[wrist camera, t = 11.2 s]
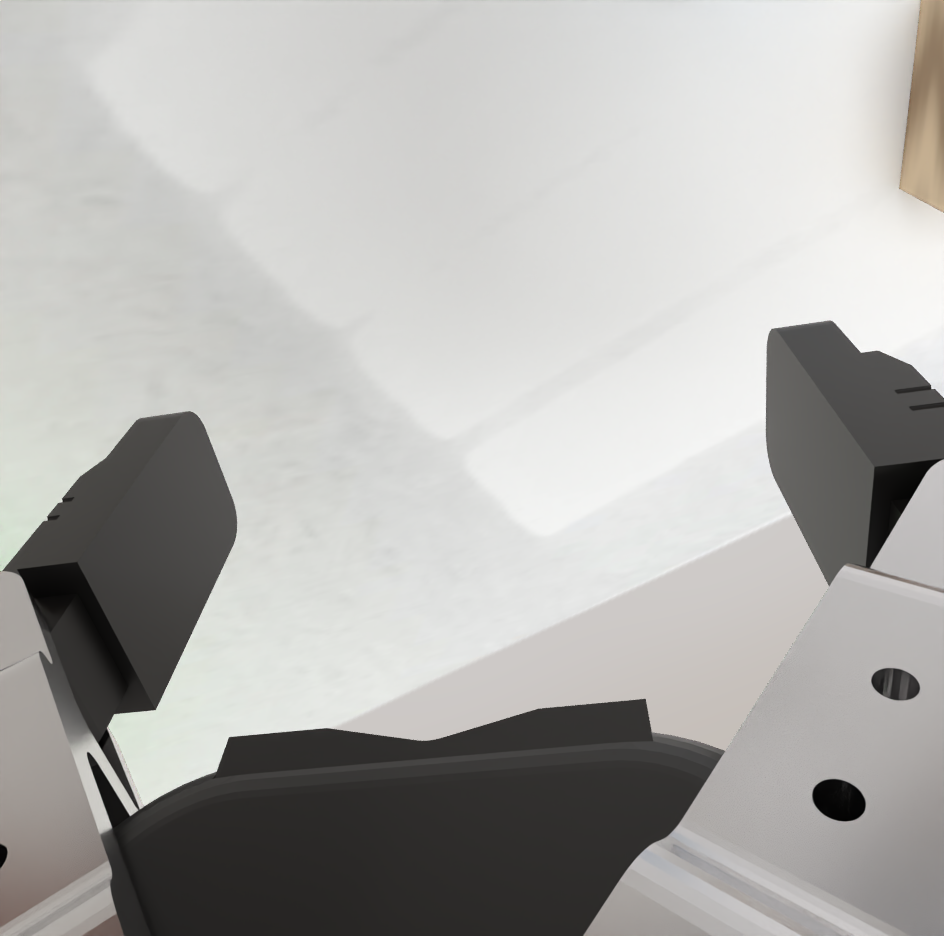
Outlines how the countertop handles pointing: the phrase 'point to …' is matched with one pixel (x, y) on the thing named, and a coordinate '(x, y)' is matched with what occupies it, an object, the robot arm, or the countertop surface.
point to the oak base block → (926, 111)
